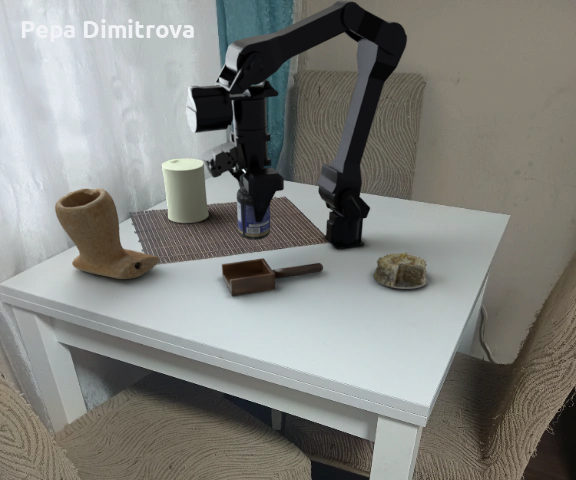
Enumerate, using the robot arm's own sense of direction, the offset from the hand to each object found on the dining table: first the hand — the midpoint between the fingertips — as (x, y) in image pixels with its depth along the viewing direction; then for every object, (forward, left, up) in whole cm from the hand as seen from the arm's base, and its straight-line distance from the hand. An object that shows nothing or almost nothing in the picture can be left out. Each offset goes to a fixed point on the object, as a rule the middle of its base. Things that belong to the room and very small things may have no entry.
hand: (253, 215), depth 107 cm
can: (+8, -27, -9) cm, 30 cm away
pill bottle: (0, -1, -4) cm, 4 cm away
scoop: (-1, +10, -9) cm, 13 cm away
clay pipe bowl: (+28, -3, -9) cm, 29 cm away
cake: (-23, +17, -9) cm, 30 cm away
